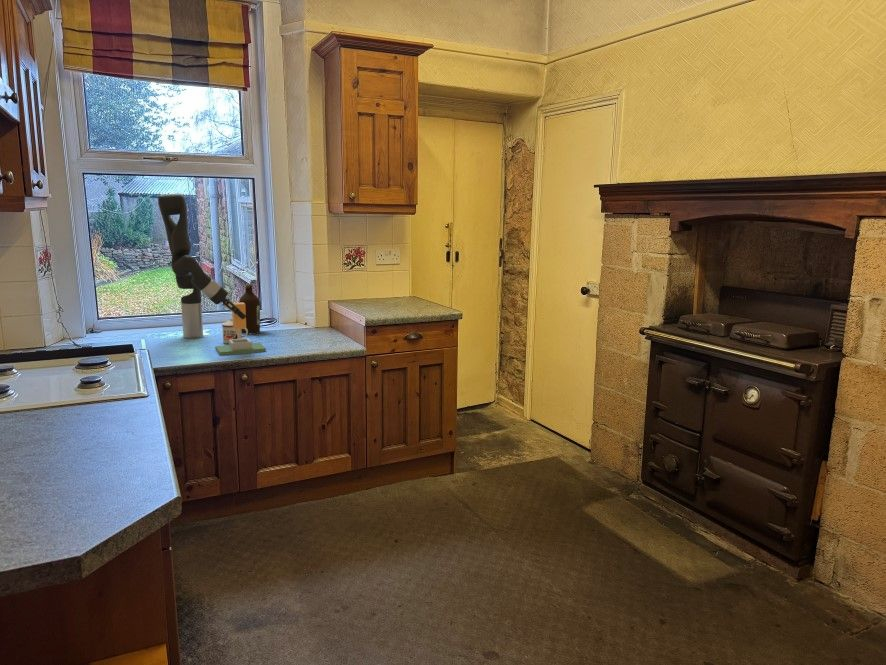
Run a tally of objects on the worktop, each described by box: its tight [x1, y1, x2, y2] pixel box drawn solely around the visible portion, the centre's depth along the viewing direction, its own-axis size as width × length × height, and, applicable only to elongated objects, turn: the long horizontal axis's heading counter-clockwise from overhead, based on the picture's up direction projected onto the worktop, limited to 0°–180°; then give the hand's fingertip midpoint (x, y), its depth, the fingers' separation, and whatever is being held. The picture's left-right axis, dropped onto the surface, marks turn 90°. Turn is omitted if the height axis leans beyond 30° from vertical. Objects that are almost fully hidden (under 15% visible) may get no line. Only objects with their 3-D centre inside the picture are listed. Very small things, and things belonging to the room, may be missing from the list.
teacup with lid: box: [221, 317, 249, 345], centre depth 293 cm, size 12×9×12 cm
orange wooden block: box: [231, 302, 246, 329], centre depth 275 cm, size 5×5×11 cm
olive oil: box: [238, 284, 261, 334], centre depth 314 cm, size 11×11×25 cm
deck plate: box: [214, 337, 267, 356], centre depth 278 cm, size 13×20×4 cm, turn 118°
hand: (243, 316), depth 276 cm, fingers closed on orange wooden block, 5 cm apart
